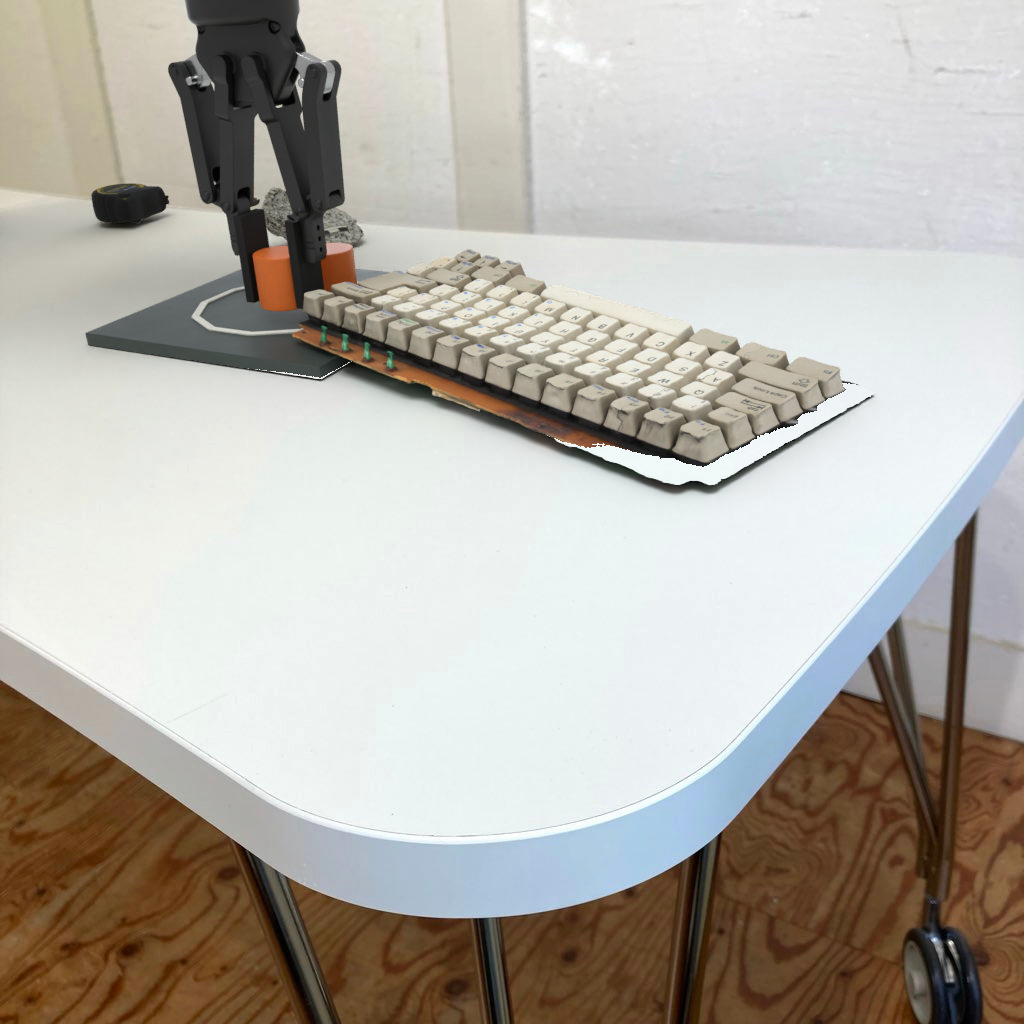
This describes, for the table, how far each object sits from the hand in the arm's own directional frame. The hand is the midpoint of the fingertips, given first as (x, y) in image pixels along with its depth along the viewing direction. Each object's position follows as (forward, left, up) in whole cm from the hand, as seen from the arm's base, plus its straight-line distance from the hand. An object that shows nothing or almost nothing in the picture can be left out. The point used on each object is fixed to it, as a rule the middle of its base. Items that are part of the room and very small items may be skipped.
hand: (286, 299), depth 82 cm
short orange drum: (0, +6, -2) cm, 6 cm away
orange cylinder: (0, 0, 0) cm, 0 cm away
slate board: (-2, +3, -3) cm, 5 cm away
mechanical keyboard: (+23, -1, -2) cm, 23 cm away
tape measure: (-41, +26, -3) cm, 49 cm away
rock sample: (-14, +24, -3) cm, 28 cm away
